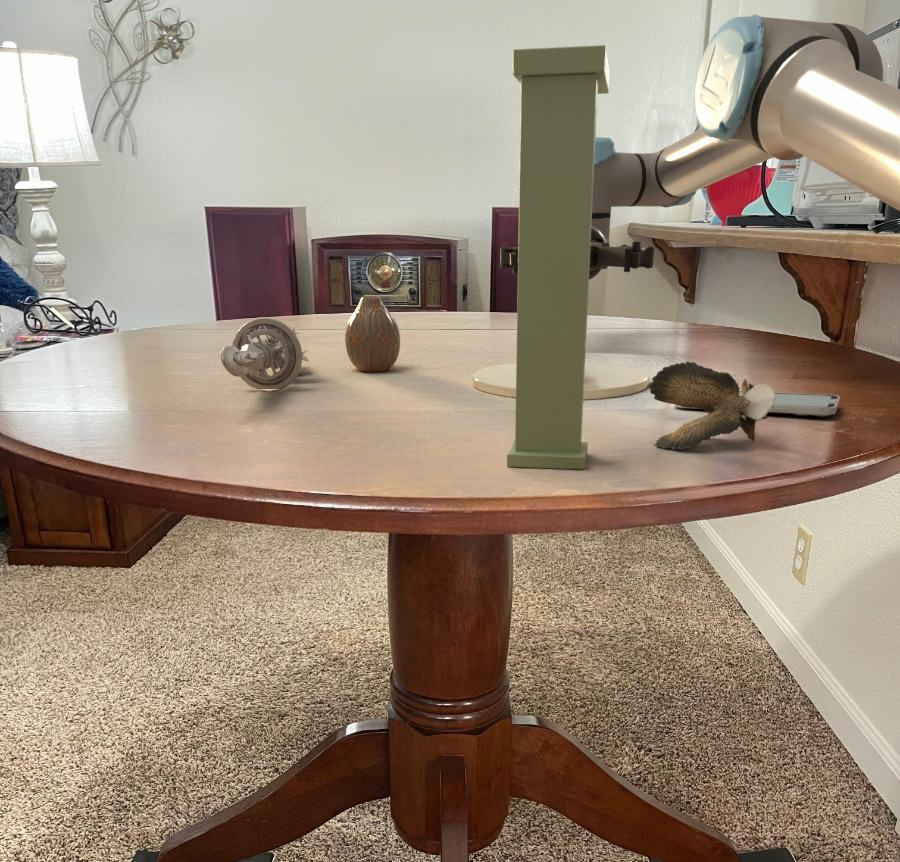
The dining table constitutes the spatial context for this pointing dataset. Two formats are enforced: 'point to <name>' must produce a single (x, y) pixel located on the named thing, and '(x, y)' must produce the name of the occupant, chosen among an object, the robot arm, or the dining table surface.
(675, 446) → the eagle figurine
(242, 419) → the dining table surface
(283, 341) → the spaceship
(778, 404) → the smartphone
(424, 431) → the dining table surface
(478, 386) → the plate
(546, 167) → the stand
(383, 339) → the vase
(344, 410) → the dining table surface
